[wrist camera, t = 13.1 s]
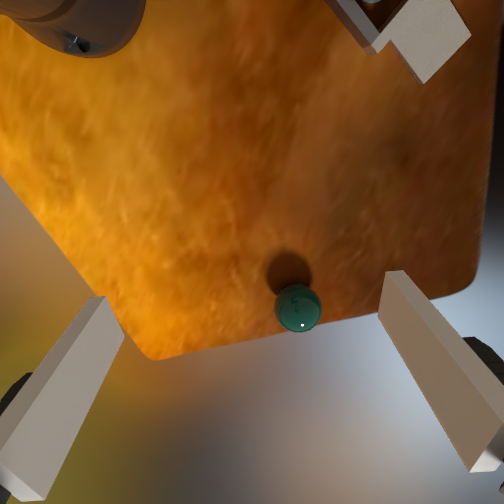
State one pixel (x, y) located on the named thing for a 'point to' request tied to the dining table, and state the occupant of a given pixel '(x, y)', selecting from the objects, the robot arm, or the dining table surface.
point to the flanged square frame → (408, 32)
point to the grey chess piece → (371, 1)
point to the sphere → (298, 308)
